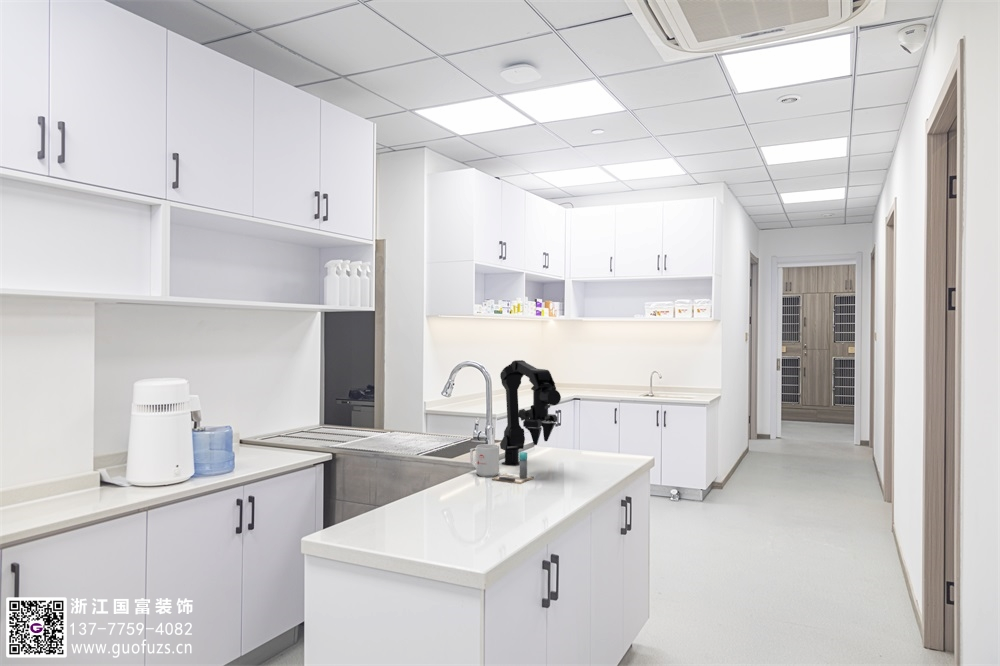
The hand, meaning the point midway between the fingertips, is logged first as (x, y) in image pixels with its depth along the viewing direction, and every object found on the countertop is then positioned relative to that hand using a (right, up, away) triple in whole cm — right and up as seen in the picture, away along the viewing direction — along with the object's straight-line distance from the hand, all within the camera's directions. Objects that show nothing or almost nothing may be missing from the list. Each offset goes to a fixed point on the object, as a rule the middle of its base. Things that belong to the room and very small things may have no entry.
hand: (540, 443), depth 257 cm
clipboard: (-11, -13, -6) cm, 18 cm away
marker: (-7, -12, -6) cm, 15 cm away
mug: (-22, -13, +2) cm, 25 cm away
